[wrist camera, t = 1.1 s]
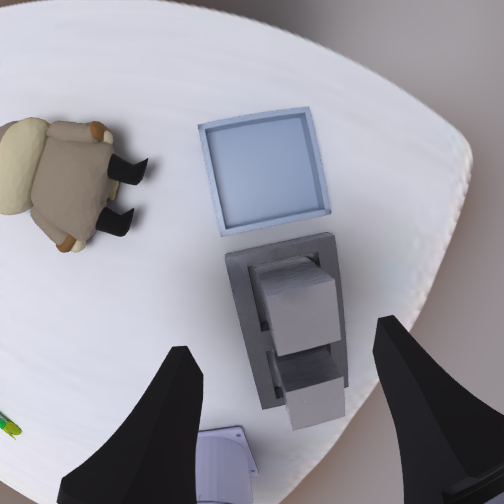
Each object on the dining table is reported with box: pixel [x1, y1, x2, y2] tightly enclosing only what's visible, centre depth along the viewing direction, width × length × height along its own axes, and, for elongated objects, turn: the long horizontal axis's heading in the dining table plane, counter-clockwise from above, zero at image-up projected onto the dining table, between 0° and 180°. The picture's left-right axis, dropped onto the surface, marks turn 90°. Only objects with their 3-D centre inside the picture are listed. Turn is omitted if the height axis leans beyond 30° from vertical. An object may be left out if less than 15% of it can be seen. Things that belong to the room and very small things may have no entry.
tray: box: [198, 107, 331, 237], centre depth 20 cm, size 8×8×2 cm
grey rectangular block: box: [272, 345, 345, 431], centre depth 21 cm, size 4×4×6 cm
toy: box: [0, 117, 148, 253], centre depth 17 cm, size 10×6×15 cm
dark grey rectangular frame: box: [225, 232, 348, 410], centre depth 23 cm, size 14×8×2 cm, turn 11°
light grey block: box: [255, 256, 341, 356], centre depth 20 cm, size 4×4×6 cm
